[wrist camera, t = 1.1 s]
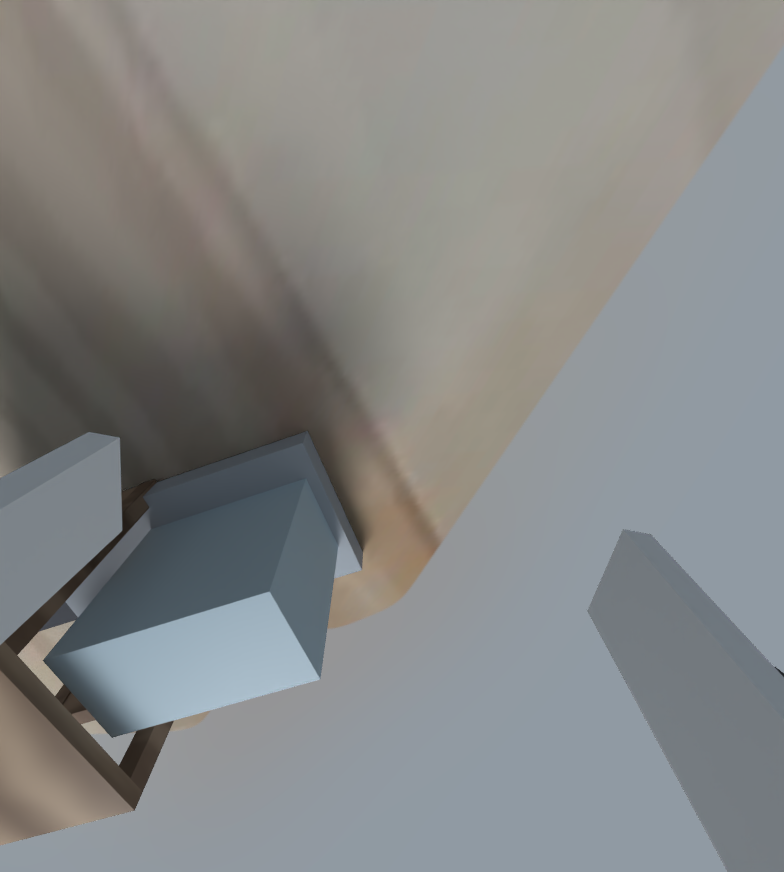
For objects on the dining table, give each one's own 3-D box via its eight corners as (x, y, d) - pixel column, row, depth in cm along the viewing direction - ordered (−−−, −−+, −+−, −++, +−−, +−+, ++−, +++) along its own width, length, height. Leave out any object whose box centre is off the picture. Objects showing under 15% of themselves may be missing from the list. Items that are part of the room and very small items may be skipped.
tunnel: (154, 479, 38) (-17, 652, 22) (228, 596, 43) (134, 810, 27) (33, 520, 40) (-217, 714, 23) (118, 629, 45) (-36, 854, 28)
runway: (307, 430, 37) (302, 442, 35) (362, 552, 42) (362, 570, 40) (36, 523, 40) (15, 540, 37) (117, 627, 44) (103, 648, 42)
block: (305, 478, 36) (269, 591, 24) (338, 546, 39) (320, 679, 27) (150, 529, 37) (42, 660, 25) (192, 591, 40) (111, 737, 28)
